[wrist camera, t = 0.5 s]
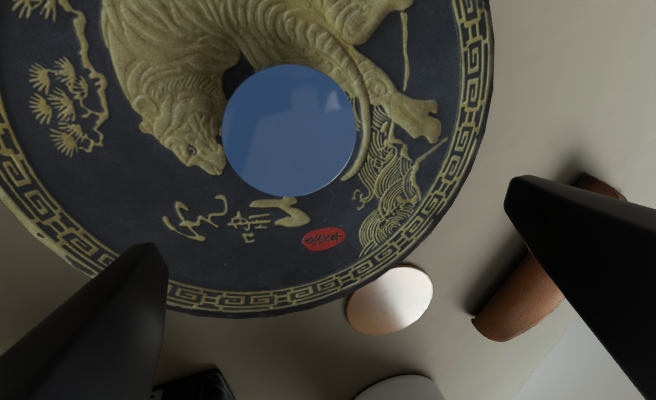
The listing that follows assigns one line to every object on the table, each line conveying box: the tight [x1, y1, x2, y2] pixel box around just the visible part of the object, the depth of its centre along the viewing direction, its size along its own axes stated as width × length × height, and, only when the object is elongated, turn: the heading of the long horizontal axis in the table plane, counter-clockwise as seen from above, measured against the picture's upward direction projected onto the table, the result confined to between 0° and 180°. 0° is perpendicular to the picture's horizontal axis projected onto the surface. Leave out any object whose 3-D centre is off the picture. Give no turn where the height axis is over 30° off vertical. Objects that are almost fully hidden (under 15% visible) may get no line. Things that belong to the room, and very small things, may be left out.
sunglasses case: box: [471, 173, 628, 342], centre depth 31 cm, size 18×7×7 cm, turn 156°
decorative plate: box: [0, 0, 495, 319], centre depth 19 cm, size 30×2×30 cm
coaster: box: [346, 264, 433, 335], centre depth 30 cm, size 9×9×1 cm
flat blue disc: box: [221, 62, 356, 197], centre depth 18 cm, size 7×7×2 cm
